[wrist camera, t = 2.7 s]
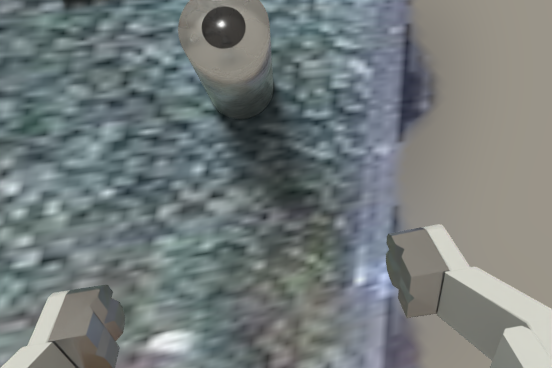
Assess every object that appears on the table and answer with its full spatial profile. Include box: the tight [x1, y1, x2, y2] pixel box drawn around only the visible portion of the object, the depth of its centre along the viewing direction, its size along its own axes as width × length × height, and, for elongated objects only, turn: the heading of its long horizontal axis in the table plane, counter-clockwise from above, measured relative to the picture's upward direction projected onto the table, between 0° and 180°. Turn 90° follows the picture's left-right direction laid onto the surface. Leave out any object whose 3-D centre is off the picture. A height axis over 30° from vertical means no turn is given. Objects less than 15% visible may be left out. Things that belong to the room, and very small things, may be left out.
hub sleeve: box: [178, 0, 273, 119], centre depth 26 cm, size 5×5×9 cm
